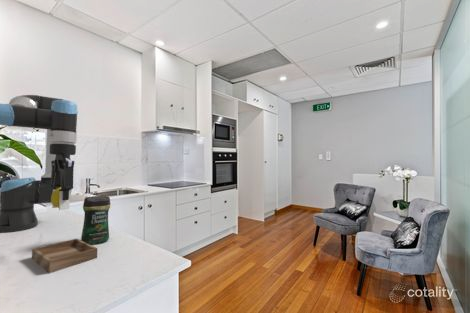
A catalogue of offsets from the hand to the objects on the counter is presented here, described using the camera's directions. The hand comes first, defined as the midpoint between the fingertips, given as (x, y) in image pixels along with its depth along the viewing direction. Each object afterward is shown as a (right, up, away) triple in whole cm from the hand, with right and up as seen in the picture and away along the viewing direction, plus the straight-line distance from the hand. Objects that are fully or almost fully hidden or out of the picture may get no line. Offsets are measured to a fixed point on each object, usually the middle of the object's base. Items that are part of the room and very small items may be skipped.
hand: (60, 208), depth 80 cm
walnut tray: (+5, -16, -5) cm, 17 cm away
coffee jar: (+6, -16, +11) cm, 20 cm away
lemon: (0, -1, 0) cm, 1 cm away
